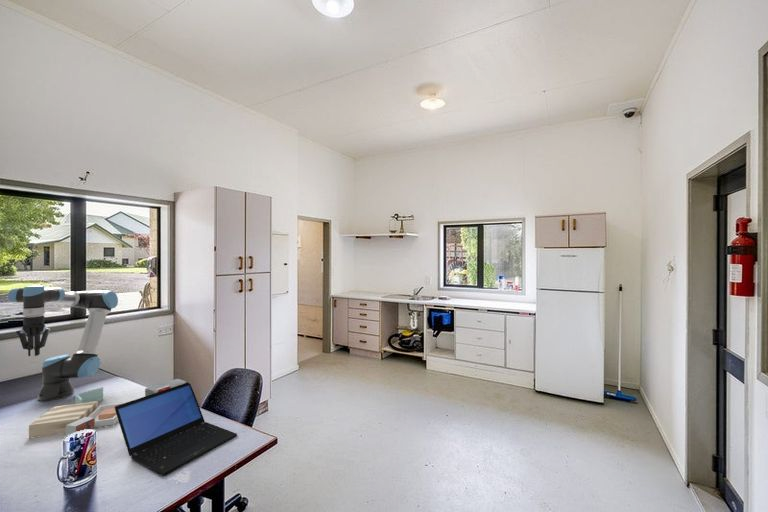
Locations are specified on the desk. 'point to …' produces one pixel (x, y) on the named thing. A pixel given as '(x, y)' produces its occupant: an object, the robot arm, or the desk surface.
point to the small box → (80, 425)
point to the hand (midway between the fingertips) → (34, 362)
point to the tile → (107, 414)
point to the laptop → (168, 429)
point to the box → (106, 421)
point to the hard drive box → (163, 386)
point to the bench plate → (60, 418)
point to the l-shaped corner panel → (89, 396)
